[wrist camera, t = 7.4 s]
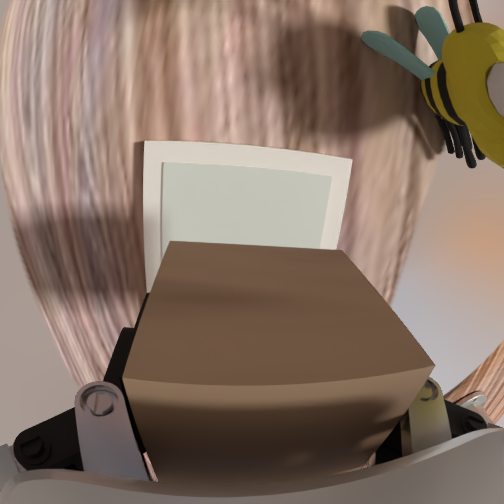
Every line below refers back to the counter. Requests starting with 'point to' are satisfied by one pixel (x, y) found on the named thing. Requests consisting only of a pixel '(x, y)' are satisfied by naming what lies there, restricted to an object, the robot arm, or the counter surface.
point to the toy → (458, 79)
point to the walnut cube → (266, 365)
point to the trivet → (239, 197)
